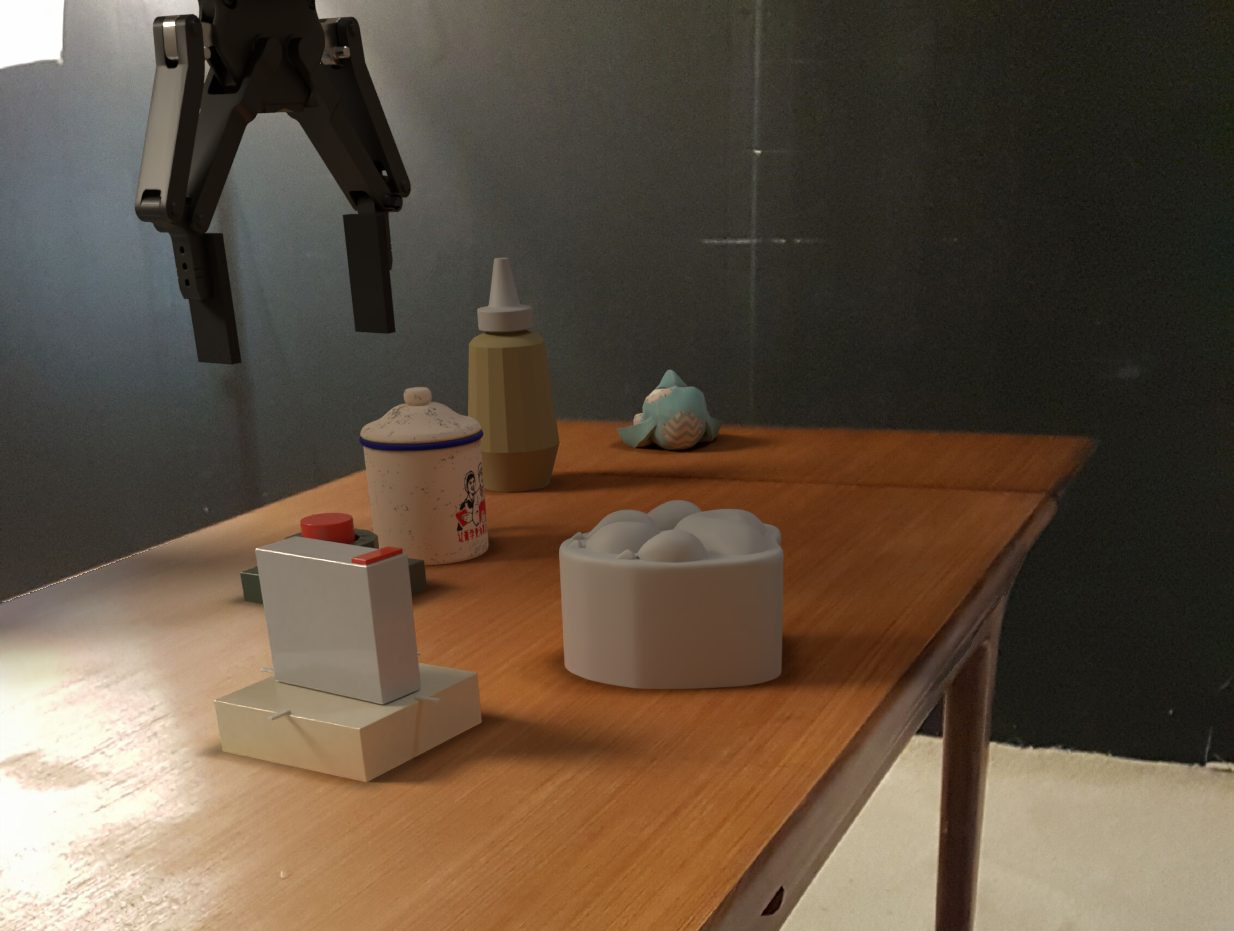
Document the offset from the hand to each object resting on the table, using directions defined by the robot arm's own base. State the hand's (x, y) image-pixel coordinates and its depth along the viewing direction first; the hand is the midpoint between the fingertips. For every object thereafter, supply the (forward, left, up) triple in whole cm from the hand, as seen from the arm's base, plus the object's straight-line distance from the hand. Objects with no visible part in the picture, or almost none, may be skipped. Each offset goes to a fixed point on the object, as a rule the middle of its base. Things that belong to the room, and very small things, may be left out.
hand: (301, 347), depth 95 cm
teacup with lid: (-7, +20, -17) cm, 27 cm away
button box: (-5, +6, -17) cm, 19 cm away
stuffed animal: (-11, +63, -17) cm, 66 cm away
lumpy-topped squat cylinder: (+24, +3, -17) cm, 29 cm away
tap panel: (+15, -16, -17) cm, 28 cm away
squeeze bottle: (-14, +41, -17) cm, 47 cm away
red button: (-5, +6, -13) cm, 16 cm away
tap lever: (+15, -16, -14) cm, 26 cm away
